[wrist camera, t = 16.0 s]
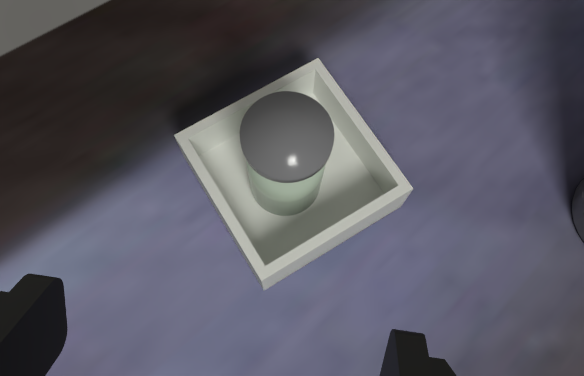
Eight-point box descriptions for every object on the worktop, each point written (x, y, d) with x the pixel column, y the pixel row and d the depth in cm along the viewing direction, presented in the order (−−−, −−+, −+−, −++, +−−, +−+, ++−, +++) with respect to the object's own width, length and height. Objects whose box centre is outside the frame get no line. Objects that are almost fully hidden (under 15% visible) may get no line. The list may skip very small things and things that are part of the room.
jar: (300, 135, 47) (305, 76, 38) (336, 196, 46) (351, 151, 36) (234, 167, 46) (223, 115, 37) (269, 231, 45) (266, 194, 35)
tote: (315, 86, 50) (318, 57, 46) (400, 206, 46) (413, 188, 42) (184, 157, 48) (173, 134, 43) (263, 290, 44) (261, 281, 39)
